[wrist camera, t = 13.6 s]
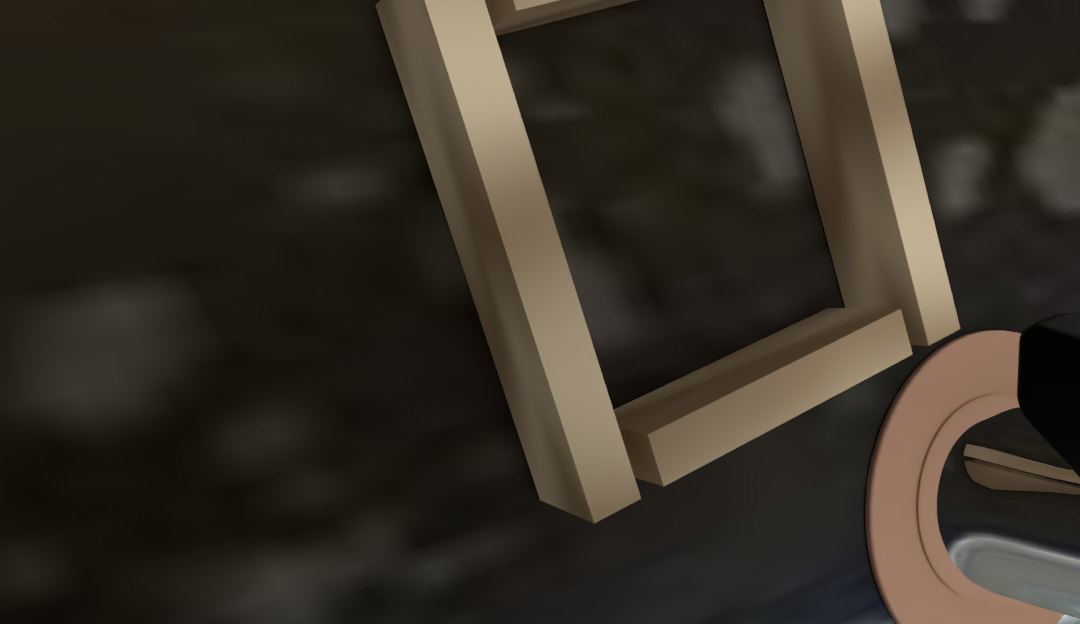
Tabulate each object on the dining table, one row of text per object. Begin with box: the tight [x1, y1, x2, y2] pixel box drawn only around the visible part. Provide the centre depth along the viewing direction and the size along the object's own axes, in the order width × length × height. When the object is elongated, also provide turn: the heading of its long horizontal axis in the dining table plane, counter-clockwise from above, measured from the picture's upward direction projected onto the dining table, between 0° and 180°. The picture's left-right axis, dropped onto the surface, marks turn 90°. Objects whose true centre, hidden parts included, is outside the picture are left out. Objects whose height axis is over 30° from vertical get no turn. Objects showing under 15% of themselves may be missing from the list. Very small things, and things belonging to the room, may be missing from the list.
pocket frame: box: [375, 0, 960, 523], centre depth 22 cm, size 11×11×2 cm
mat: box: [865, 330, 1063, 624], centre depth 28 cm, size 10×10×1 cm
